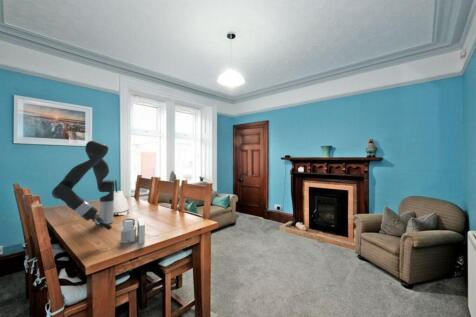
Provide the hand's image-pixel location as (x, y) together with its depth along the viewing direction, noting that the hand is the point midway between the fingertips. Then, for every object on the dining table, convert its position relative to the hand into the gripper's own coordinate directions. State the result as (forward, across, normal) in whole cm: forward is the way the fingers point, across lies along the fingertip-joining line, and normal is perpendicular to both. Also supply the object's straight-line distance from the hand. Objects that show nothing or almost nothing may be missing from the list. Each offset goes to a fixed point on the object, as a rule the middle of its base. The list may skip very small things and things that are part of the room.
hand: (110, 228), depth 129 cm
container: (+13, 0, -1) cm, 13 cm away
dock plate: (+18, 0, -6) cm, 19 cm away
